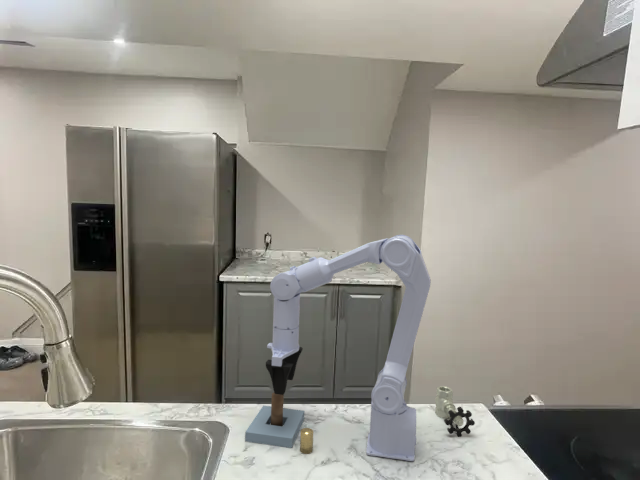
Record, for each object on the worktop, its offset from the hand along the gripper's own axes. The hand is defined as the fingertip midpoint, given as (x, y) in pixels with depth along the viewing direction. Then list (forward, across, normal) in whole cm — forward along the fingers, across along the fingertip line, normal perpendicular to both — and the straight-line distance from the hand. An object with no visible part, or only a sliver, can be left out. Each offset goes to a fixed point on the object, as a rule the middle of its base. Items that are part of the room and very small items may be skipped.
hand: (284, 386), depth 91 cm
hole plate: (+9, +1, -1) cm, 9 cm away
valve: (+10, -11, +37) cm, 40 cm away
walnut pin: (+9, +1, -1) cm, 10 cm away
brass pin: (+9, +8, +7) cm, 14 cm away
